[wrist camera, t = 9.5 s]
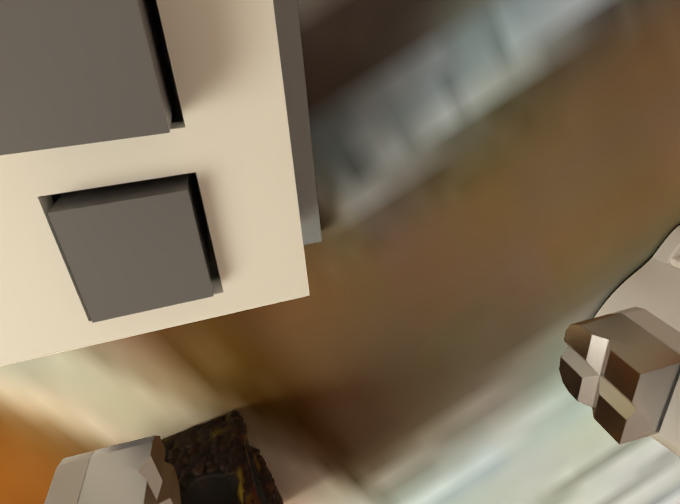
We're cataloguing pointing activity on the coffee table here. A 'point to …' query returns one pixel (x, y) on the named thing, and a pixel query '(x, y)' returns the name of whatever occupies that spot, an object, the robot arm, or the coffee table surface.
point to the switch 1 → (80, 73)
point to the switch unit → (175, 159)
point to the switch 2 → (135, 245)
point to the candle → (220, 465)
